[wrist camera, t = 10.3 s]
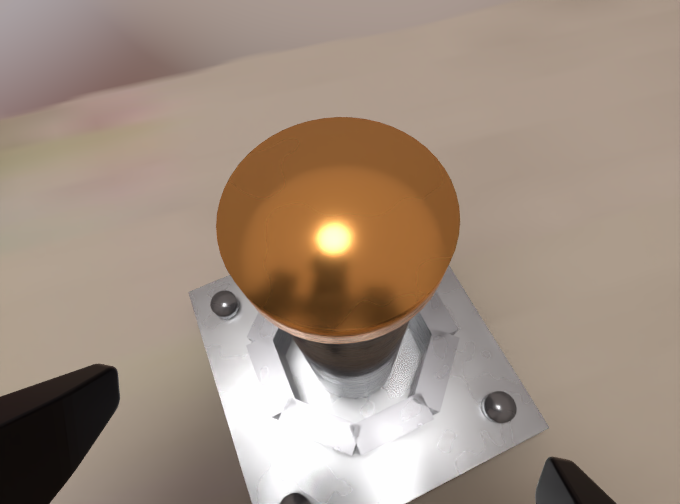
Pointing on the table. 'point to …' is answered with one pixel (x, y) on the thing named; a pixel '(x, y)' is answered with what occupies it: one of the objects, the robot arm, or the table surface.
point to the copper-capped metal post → (340, 241)
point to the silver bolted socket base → (363, 404)
